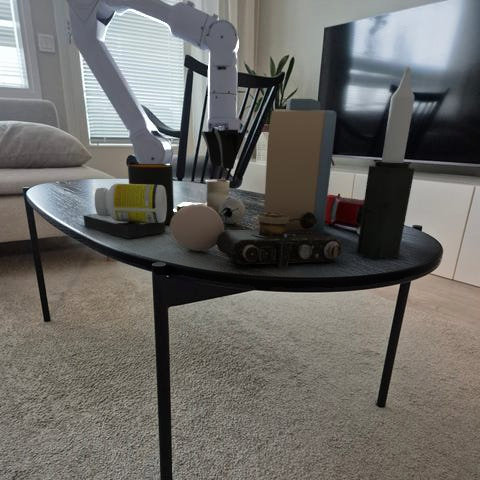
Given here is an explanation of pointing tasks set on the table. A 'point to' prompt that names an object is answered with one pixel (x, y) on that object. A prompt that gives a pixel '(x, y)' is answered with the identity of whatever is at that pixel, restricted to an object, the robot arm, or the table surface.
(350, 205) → the toy car
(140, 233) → the vhs tape
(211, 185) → the pointer wheel
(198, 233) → the egg
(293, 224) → the tall beige block
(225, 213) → the reed diffuser
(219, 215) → the dial console
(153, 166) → the mug
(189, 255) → the table surface
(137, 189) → the pill bottle
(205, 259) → the table surface
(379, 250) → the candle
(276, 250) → the camera
